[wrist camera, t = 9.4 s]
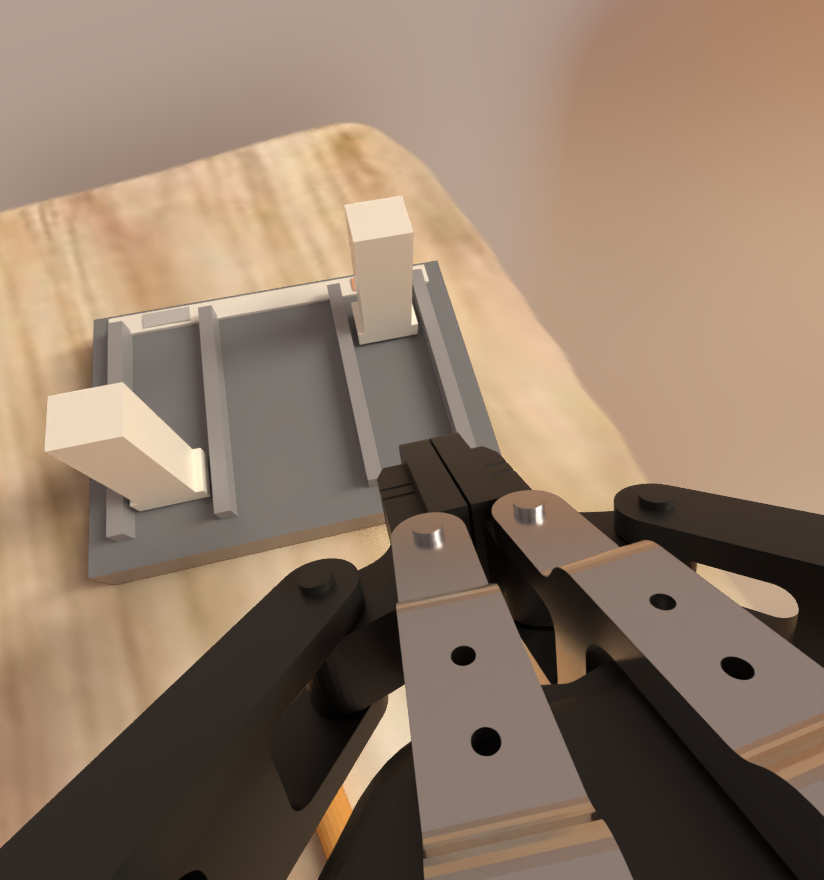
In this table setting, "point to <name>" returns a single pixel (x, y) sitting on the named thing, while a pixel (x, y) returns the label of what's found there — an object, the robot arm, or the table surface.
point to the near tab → (124, 447)
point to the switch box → (277, 417)
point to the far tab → (381, 269)
